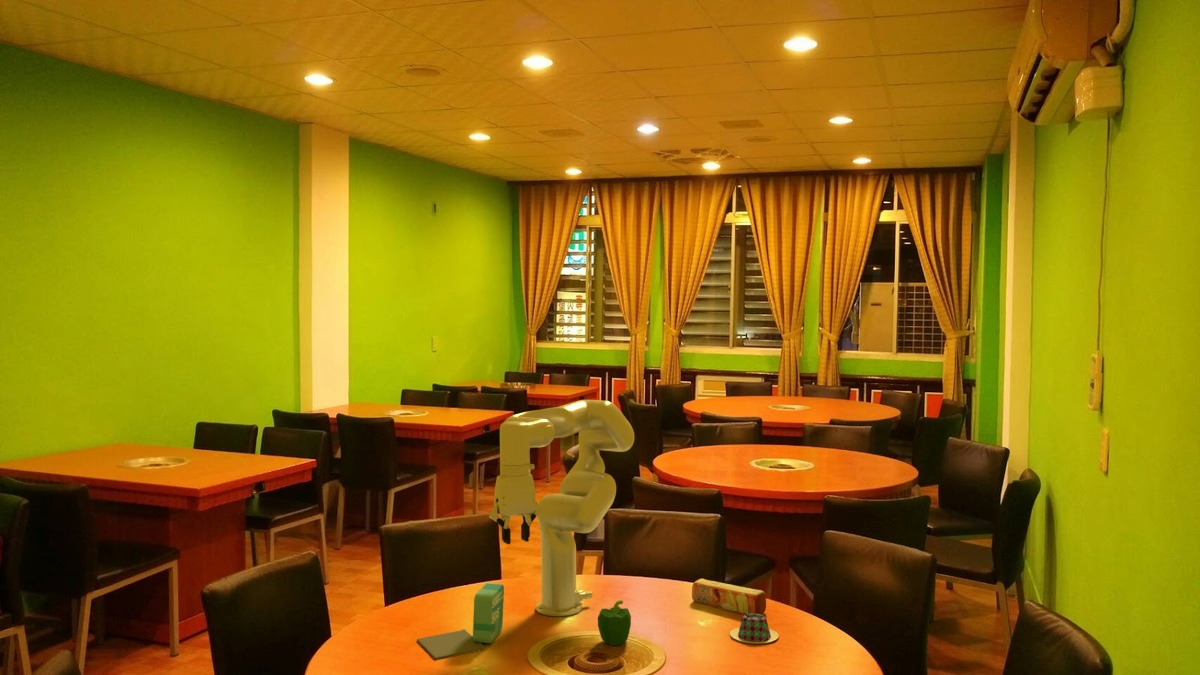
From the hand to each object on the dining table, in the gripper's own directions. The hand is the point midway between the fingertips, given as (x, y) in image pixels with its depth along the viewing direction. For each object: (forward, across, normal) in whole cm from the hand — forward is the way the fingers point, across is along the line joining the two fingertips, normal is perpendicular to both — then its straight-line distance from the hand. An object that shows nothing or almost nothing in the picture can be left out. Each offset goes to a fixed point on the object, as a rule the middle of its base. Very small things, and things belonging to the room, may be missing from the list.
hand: (515, 541), depth 227 cm
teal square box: (+23, +8, 0) cm, 25 cm away
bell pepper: (+24, -18, +19) cm, 35 cm away
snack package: (+24, -57, +13) cm, 63 cm away
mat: (+23, +18, 0) cm, 29 cm away
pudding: (+24, -50, +33) cm, 64 cm away
